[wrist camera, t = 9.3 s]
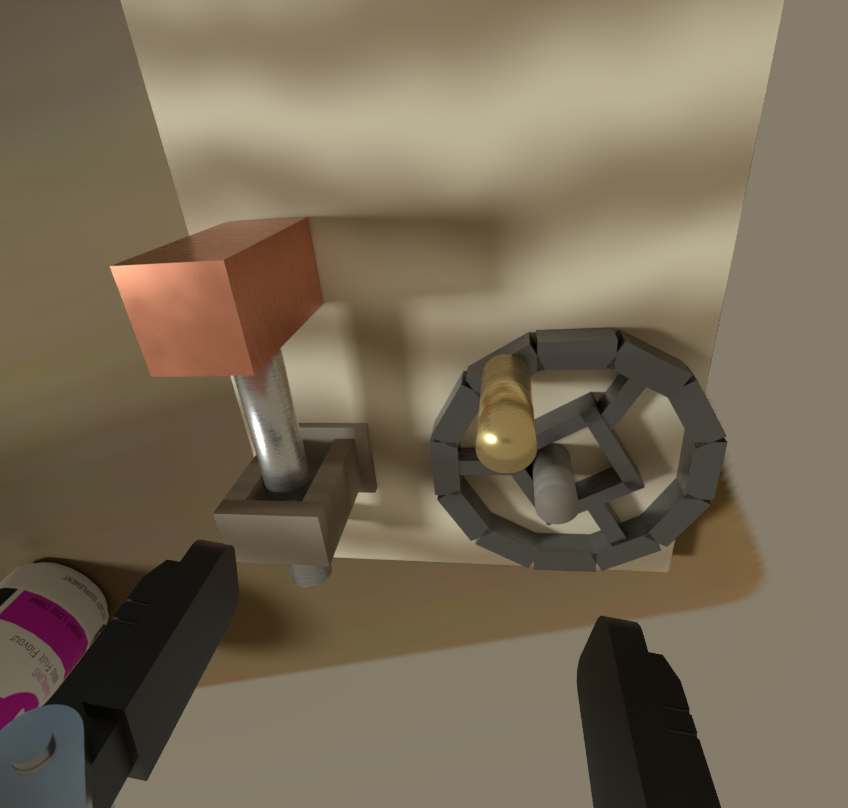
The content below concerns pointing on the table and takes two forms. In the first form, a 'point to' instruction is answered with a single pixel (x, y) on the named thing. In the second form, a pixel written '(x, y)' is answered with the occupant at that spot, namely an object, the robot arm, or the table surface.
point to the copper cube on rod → (234, 330)
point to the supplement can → (44, 632)
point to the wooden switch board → (463, 227)
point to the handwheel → (523, 435)
